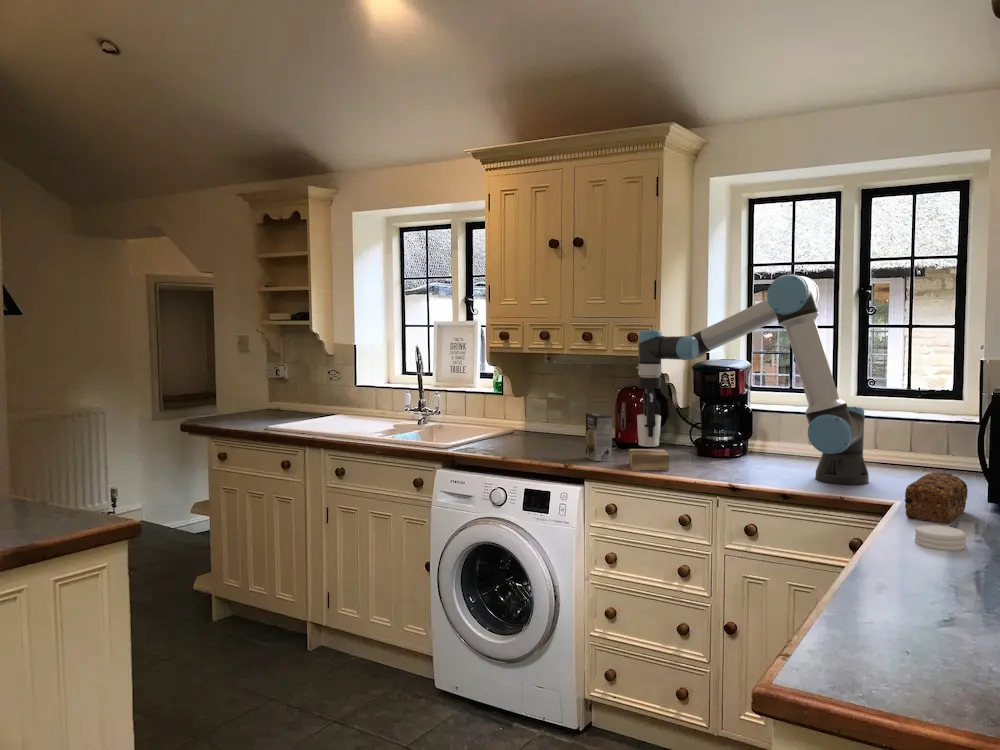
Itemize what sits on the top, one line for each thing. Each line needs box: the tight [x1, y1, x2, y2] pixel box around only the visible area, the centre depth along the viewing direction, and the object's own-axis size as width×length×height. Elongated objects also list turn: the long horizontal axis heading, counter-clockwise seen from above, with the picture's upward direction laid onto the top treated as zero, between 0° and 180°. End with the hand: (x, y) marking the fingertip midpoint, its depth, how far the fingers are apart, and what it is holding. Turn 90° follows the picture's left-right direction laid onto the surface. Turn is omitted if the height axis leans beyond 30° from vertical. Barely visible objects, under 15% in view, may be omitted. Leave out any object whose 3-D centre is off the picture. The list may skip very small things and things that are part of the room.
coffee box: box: [585, 412, 613, 462], centre depth 286 cm, size 9×6×16 cm
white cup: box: [636, 413, 662, 448], centre depth 271 cm, size 8×8×10 cm
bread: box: [904, 471, 968, 525], centre depth 206 cm, size 19×11×10 cm, turn 137°
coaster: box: [914, 524, 967, 552], centre depth 179 cm, size 10×10×4 cm
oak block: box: [628, 448, 670, 472], centre depth 272 cm, size 12×12×5 cm
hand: (648, 444), depth 271 cm, fingers closed on white cup, 7 cm apart
